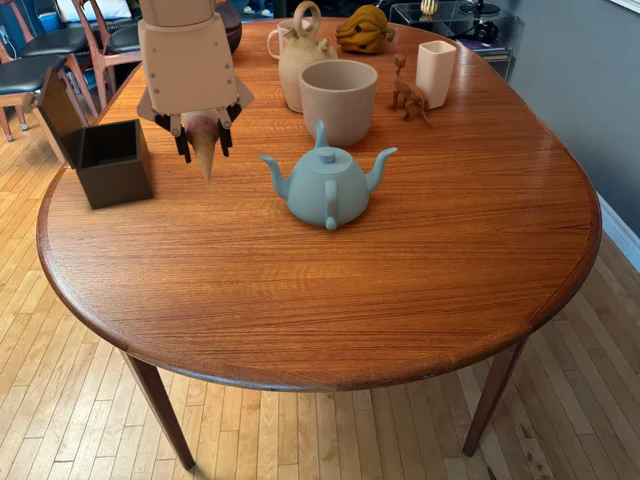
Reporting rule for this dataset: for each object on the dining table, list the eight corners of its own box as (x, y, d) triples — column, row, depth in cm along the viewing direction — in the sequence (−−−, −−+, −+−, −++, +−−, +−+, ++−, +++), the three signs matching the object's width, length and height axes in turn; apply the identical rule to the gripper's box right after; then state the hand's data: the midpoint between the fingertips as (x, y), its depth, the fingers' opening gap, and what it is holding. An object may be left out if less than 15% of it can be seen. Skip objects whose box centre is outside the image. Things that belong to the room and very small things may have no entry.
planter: (383, 151, 105) (388, 86, 94) (309, 161, 102) (306, 95, 92) (362, 117, 117) (365, 56, 107) (296, 124, 115) (292, 63, 104)
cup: (449, 107, 120) (459, 49, 110) (425, 113, 118) (434, 54, 108) (432, 96, 125) (440, 39, 115) (409, 102, 123) (416, 44, 113)
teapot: (317, 169, 100) (316, 116, 92) (392, 199, 91) (398, 144, 83) (263, 209, 90) (256, 154, 82) (342, 248, 81) (343, 190, 73)
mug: (301, 70, 139) (299, 32, 132) (266, 64, 143) (263, 27, 136) (316, 58, 146) (315, 21, 139) (283, 53, 150) (280, 16, 143)
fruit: (353, 45, 160) (409, 33, 150) (337, 68, 151) (396, 57, 141) (340, 4, 151) (399, -11, 142) (323, 26, 142) (385, 11, 132)
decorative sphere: (259, 58, 148) (251, -12, 134) (211, 79, 136) (198, 5, 123) (216, 45, 157) (205, -22, 144) (168, 63, 145) (151, -7, 132)
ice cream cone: (236, 189, 58) (223, 112, 66) (213, 168, 54) (202, 88, 62) (204, 205, 59) (195, 127, 67) (180, 185, 55) (174, 105, 64)
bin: (149, 153, 106) (138, 118, 100) (153, 197, 93) (141, 160, 87) (95, 163, 103) (81, 127, 97) (92, 209, 91) (75, 171, 85)
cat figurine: (444, 128, 112) (454, 72, 103) (422, 134, 110) (430, 78, 101) (401, 99, 124) (407, 46, 115) (380, 104, 122) (384, 51, 113)
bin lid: (52, 65, 89) (23, 72, 88) (41, 105, 76) (6, 113, 75) (82, 124, 97) (56, 131, 96) (76, 169, 85) (46, 176, 84)
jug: (271, 99, 125) (262, -2, 108) (321, 86, 131) (320, -12, 114) (298, 123, 115) (292, 15, 98) (350, 108, 121) (353, 3, 104)
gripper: (248, -9, 54) (263, 132, 66) (96, 4, 51) (141, 151, 63) (261, 9, 49) (274, 159, 61) (92, 25, 45) (141, 181, 58)
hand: (206, 153), depth 62 cm, fingers closed on ice cream cone, 4 cm apart
